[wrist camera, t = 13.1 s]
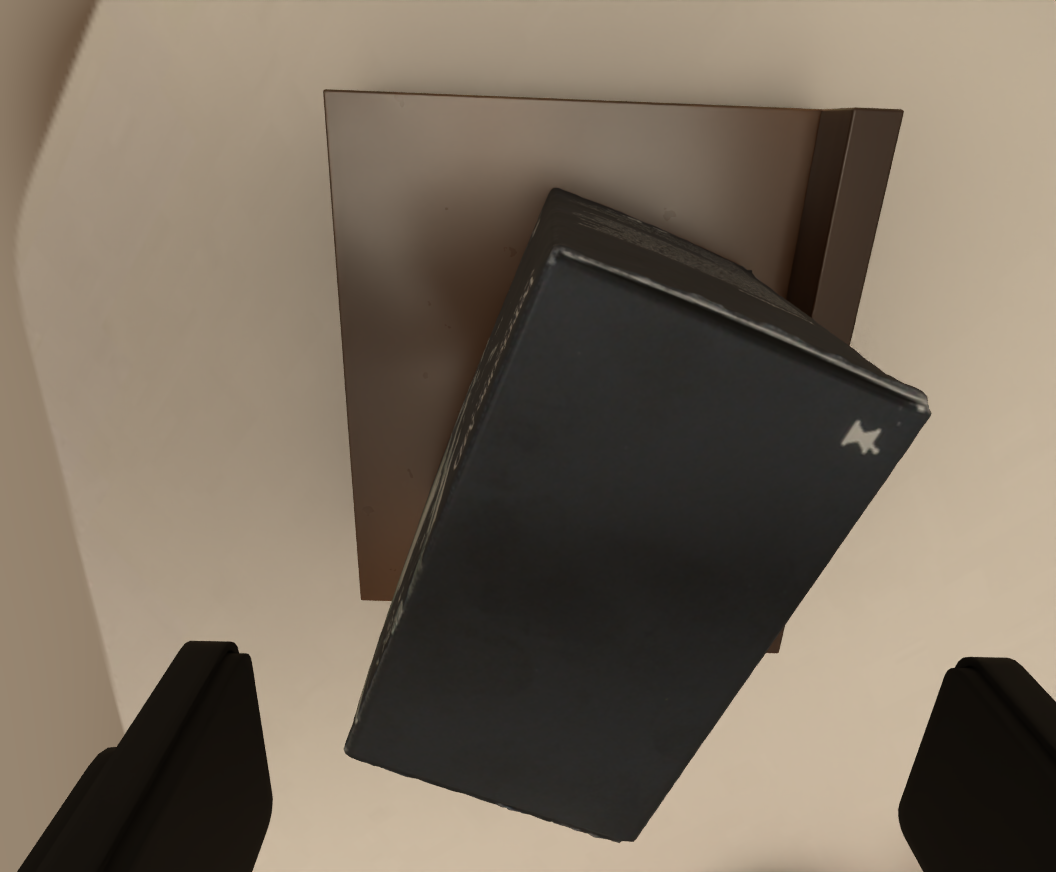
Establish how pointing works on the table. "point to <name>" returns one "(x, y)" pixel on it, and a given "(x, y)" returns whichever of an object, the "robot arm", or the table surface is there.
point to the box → (620, 523)
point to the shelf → (507, 225)
